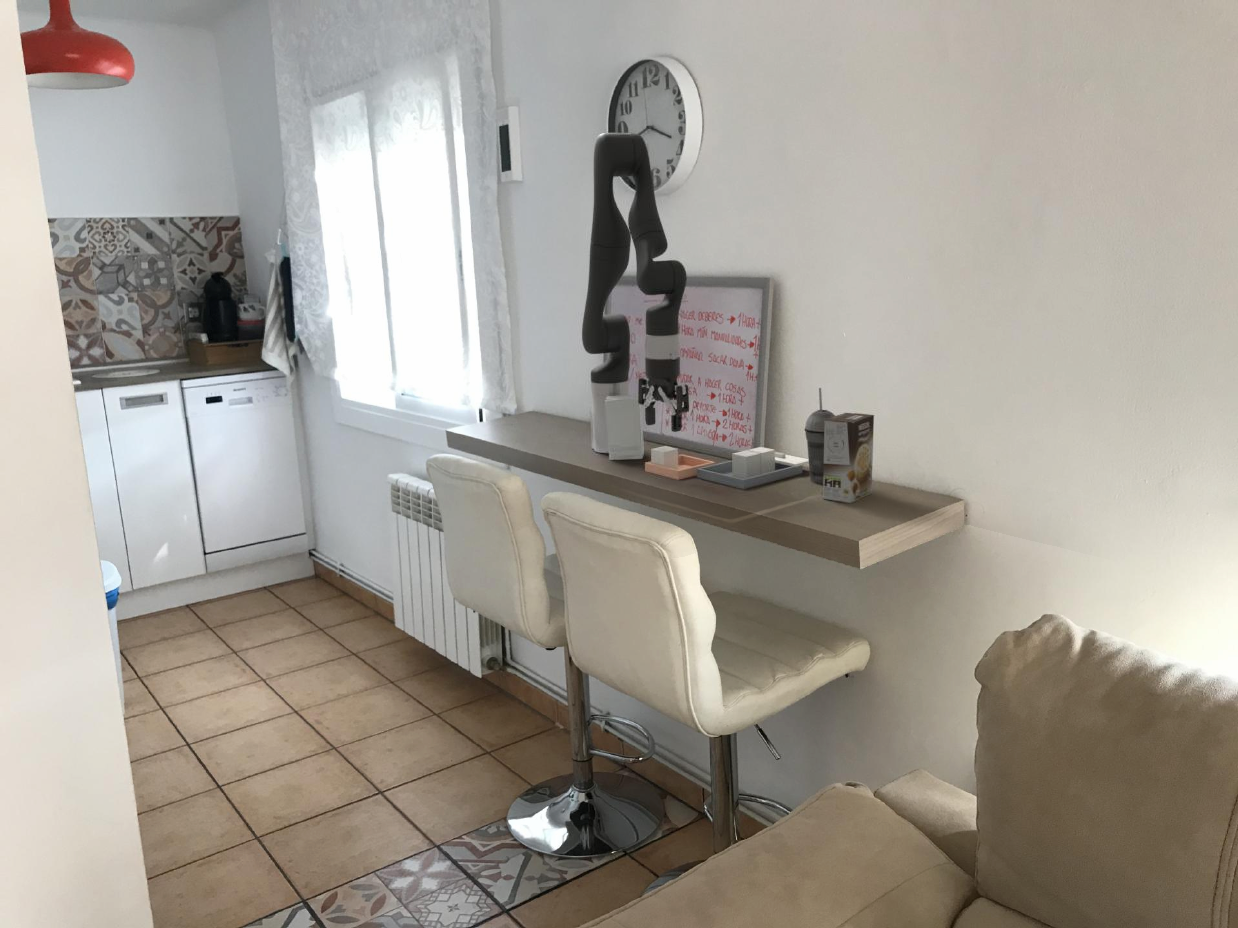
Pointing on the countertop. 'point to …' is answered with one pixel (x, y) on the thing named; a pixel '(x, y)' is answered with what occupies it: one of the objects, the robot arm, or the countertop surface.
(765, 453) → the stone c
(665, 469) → the orange square tray
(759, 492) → the countertop surface
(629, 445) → the skincare box
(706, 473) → the blue-grey shallow rectangular tray
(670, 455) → the white block
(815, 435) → the beverage cup
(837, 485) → the coffee box
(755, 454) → the white cuboid
